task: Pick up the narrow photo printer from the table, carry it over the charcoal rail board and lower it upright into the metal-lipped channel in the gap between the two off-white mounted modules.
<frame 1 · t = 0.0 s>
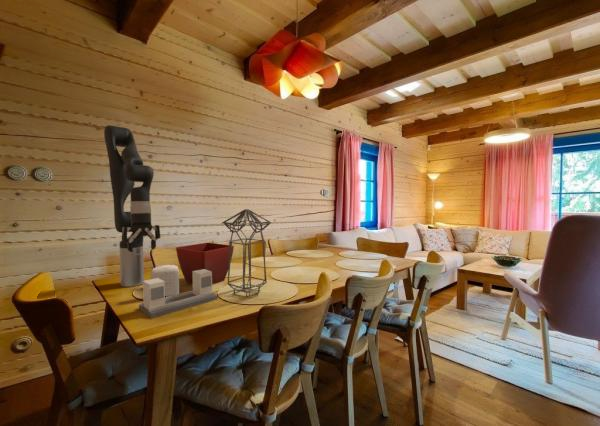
hand: (142, 250, 119), 17 cm above the table, tool pointing down, fingers open, 8 cm apart
geometric lantern: (247, 294, 116), on the table
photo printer: (165, 296, 114), on the table
plant pot: (206, 282, 133), on the table
rail board: (179, 303, 105), on the table
mounted modules: (179, 288, 104), point 6 cm above the table
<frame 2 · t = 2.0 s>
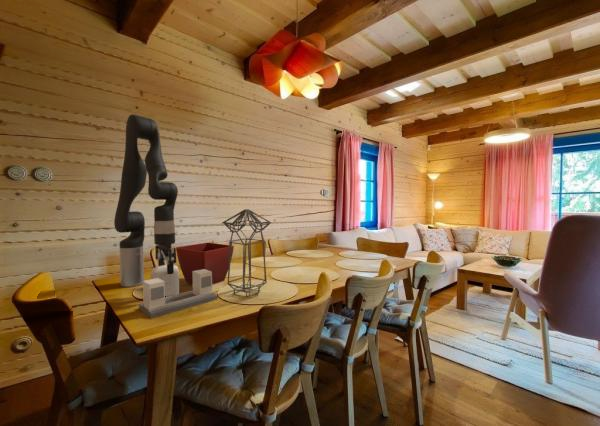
hand: (165, 272, 113), 10 cm above the table, tool pointing down, fingers open, 8 cm apart
nothing on the table moved.
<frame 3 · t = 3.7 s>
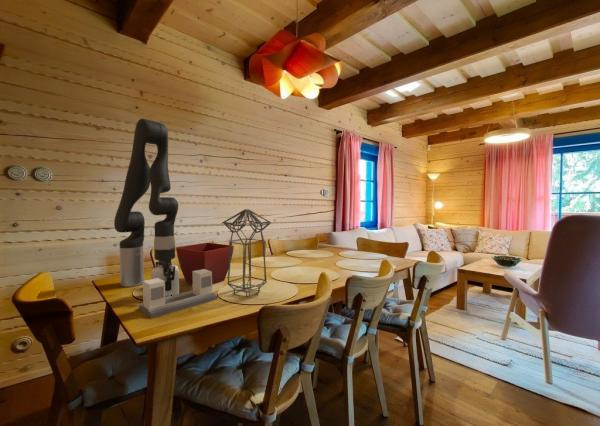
hand: (165, 288, 113), 3 cm above the table, tool pointing down, fingers closed on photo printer, 5 cm apart
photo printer: (165, 296, 114), on the table, touching gripper
everything else where it was.
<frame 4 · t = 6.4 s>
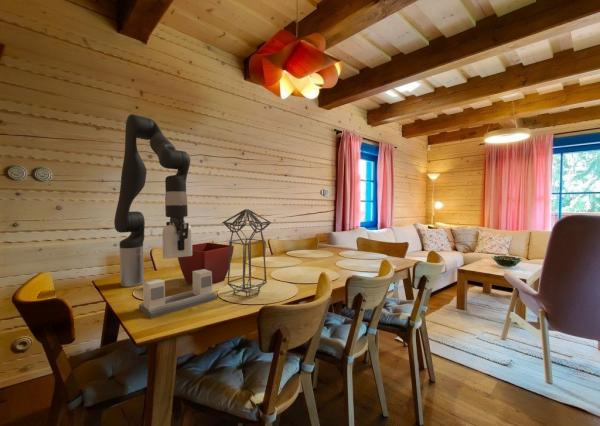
hand: (177, 249, 105), 20 cm above the table, tool pointing down, fingers closed on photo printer, 5 cm apart
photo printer: (178, 257, 105), point 17 cm above the table, touching gripper
everything else where it was.
when the fingers open (5 cm above the table, at t = 9.5 s): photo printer stays where it is, resting on rail board.
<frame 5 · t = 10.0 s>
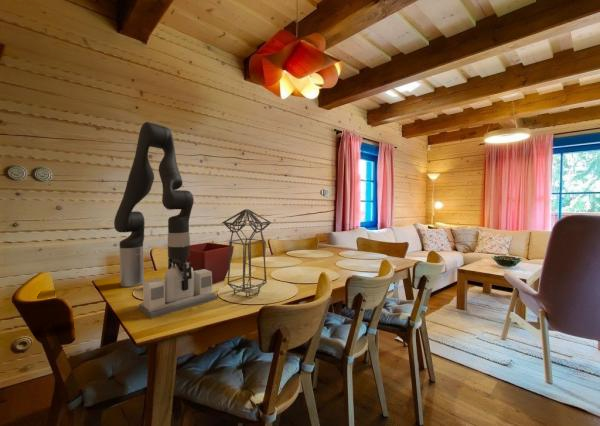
hand: (179, 287, 104), 6 cm above the table, tool pointing down, fingers open, 8 cm apart
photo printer: (179, 300, 105), point 1 cm above the table, touching rail board
everything else where it was.
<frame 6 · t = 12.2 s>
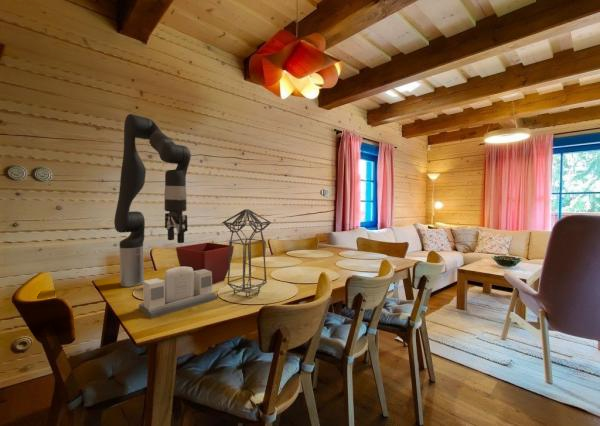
hand: (175, 241, 106), 23 cm above the table, tool pointing down, fingers open, 8 cm apart
nothing on the table moved.
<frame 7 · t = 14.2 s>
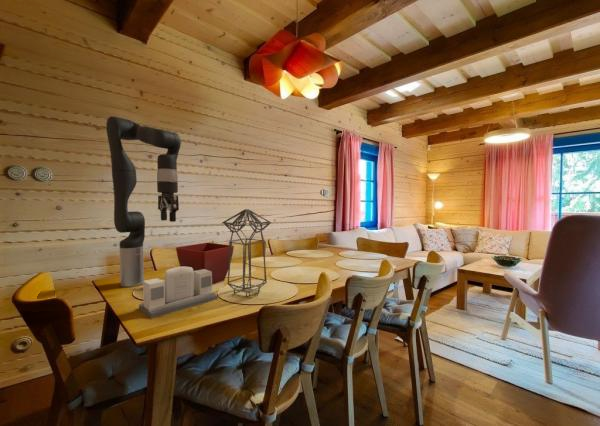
hand: (168, 221, 114), 30 cm above the table, tool pointing down, fingers open, 8 cm apart
nothing on the table moved.
at the end: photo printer 0.1 cm off-centre on the rail board, point 1.3 cm above the rail board's base; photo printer tilted 0°; the gripper is holding nothing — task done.
